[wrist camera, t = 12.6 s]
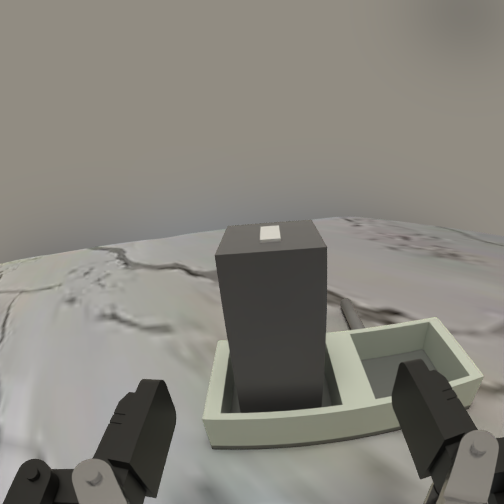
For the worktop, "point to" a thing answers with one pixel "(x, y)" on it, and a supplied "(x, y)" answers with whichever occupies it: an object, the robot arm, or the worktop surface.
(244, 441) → the two-compartment tray
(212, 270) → the worktop surface
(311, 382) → the block
